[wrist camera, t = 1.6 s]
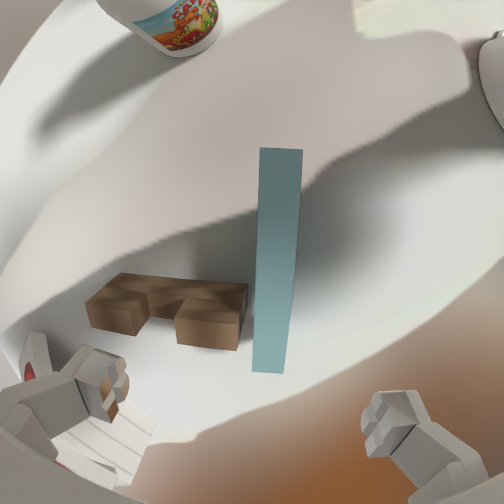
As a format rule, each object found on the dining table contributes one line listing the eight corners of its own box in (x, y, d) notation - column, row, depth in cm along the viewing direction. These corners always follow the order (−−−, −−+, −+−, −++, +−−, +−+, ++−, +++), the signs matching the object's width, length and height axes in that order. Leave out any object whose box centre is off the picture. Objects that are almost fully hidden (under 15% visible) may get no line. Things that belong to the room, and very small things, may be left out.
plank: (296, 150, 26) (302, 149, 19) (283, 327, 33) (283, 373, 26) (265, 149, 27) (259, 147, 19) (258, 326, 33) (252, 371, 26)
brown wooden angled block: (247, 284, 32) (236, 324, 24) (246, 307, 33) (236, 351, 25) (120, 272, 33) (85, 303, 26) (123, 294, 34) (91, 327, 27)
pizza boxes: (45, 315, 38) (-21, 376, 21) (170, 427, 43) (141, 505, 27) (26, 356, 44) (-19, 405, 27) (126, 443, 49) (99, 502, 32)
